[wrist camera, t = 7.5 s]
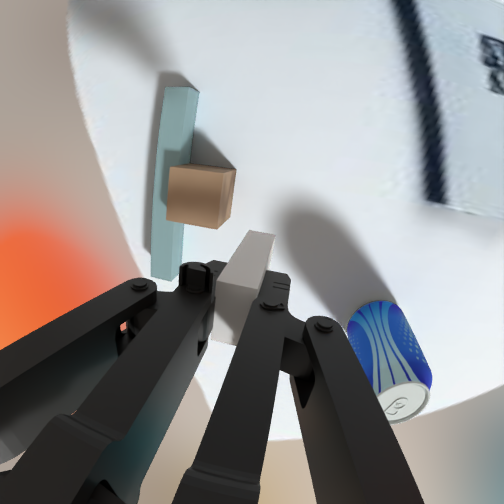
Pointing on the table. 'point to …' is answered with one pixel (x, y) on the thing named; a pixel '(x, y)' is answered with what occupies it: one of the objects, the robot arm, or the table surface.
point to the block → (200, 195)
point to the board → (168, 154)
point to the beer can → (391, 359)
